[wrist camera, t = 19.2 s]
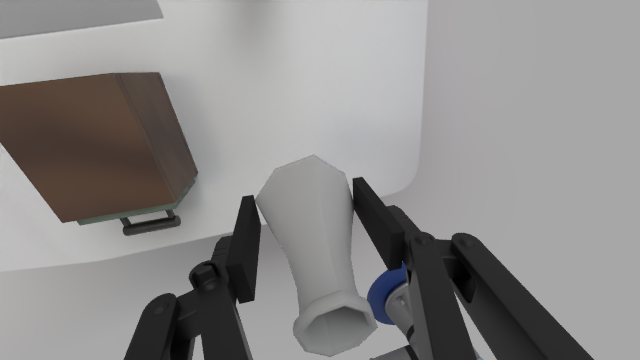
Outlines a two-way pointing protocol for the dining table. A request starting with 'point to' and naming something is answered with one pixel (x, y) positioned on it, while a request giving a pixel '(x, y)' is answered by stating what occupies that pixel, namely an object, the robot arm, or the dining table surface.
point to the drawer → (146, 225)
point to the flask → (318, 253)
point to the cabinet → (97, 143)
